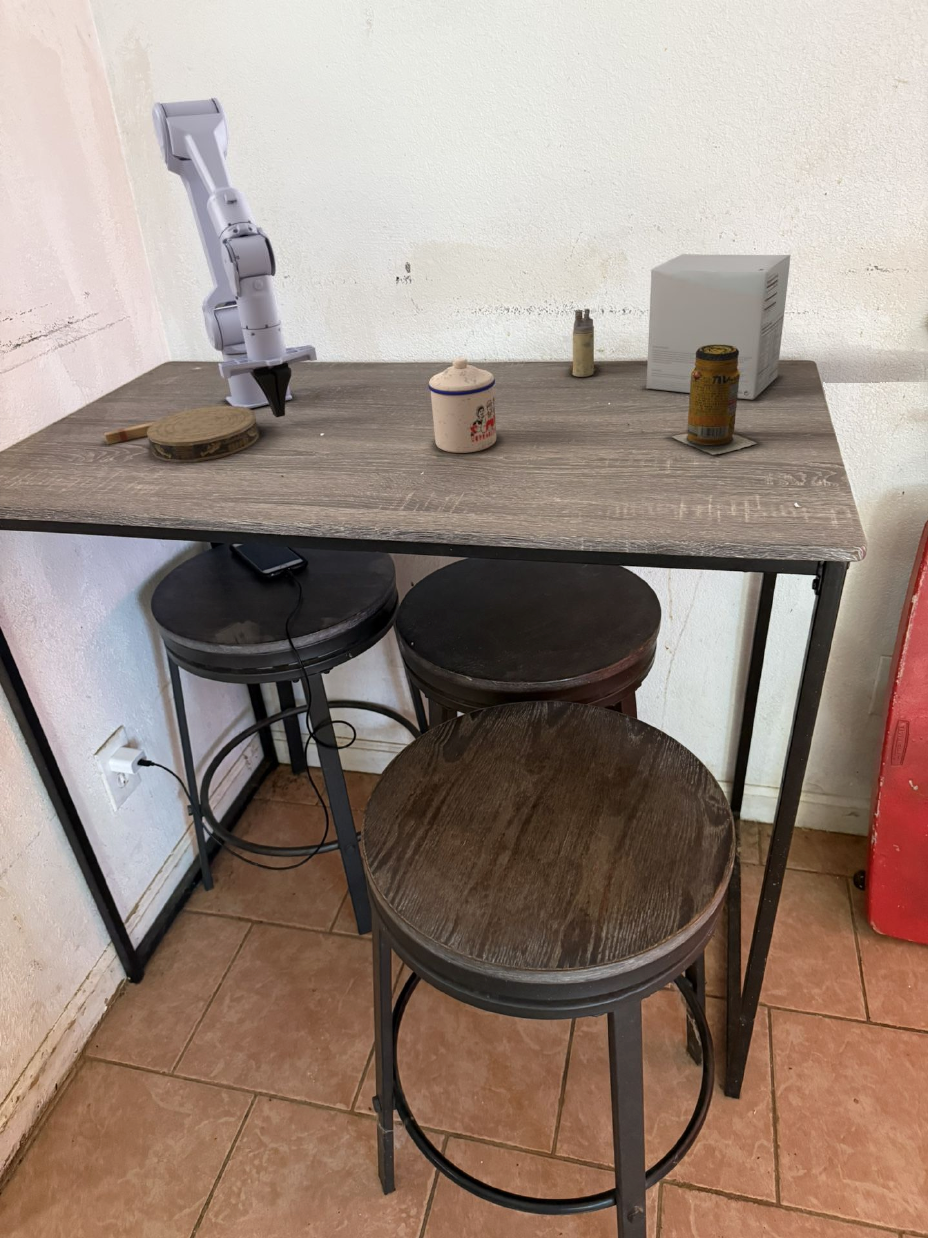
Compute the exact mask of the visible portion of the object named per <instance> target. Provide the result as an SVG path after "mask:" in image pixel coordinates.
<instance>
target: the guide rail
mask: <svg viewBox="0 0 928 1238" xmlns="http://www.w3.org/2000/svg"><path fill="white" fill-rule="evenodd" d="M157 421H158V420H157ZM157 421H152V422H147V423H142V424H138V425H133V426H128V427H125V428H119V429H116V430H111V431H107V432H104V433H103V435H104V437H105V441H106V444H107V445H112V444H117V443H122V442H126V441H130V440H135V439H138V438H143V437H148V436H147V431H148V428H149V427H150V426H151V425H152V424H153V423H155V422H157Z"/></svg>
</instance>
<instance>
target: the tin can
mask: <svg viewBox="0 0 928 1238" xmlns="http://www.w3.org/2000/svg"><path fill="white" fill-rule="evenodd" d="M154 422H155V423H153V424H152V425H151V426H150V427H149V428H148V431H147V436H146V437H147V441H148V443H149V447H150V449H151V450H150V451H151V453H152V455H154V457H155V458H156V459H159V460H162V461H165V462H172V463H173V462H174V463H193V462H194V463H195V462H202V461H210V460H215V459H218V458H222V457H226V456H230V455H233V454H235V453H236V454H237V453H238V452H241V451H243V450H245V449H247V448H248V447H250V446H252V445H253V444H255V443H256V441H257V440H258V439H259V438H260V434H259V429H258V424H257V419H256V415H255V412H254V411H253V410H252V409H251V408H250V409H248V408H244V407H239V406H232V405H210V406H209V405H208V406H203V407H197V408H192V409H186V410H183V411H180V412H176V413H173V414H169V415H167V416H165V417H162V418H161V419H159V420H157V422H156V421H154Z"/></svg>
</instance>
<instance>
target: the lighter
mask: <svg viewBox="0 0 928 1238" xmlns="http://www.w3.org/2000/svg"><path fill="white" fill-rule="evenodd" d="M590 314H591V310H590V309H589V308H588V307H587V308H586V309H584V313H583V310H582V309H577V310H575V311H574V323H573V329H572V376H575V377H578V378H579V377H580V378H582V377H591V376H593V375H594V372H595V371H596V370H597V369H596V368H595V351H594V350H595V325H594V319H593V318H591V316H590Z"/></svg>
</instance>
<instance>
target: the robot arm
mask: <svg viewBox="0 0 928 1238" xmlns="http://www.w3.org/2000/svg"><path fill="white" fill-rule="evenodd" d="M151 117H152V122H153V128H154V132H155V136H156V139H157V143H158V146H159V150H160V154H161V156H162V160H163V162H164V163H165V166H166V170H168V171H169V172H170V173H174V174H175V175H178V176H179V177H180V180H181V182H182V184H183V186H184V189H185V191H186V193H187V197H188V201H189V204H190V207H191V212H192V214H193V219H194V221H195V226H196V228H197V233H198V236H199V239H200V243H201V246H202V250H203V253H204V257H205V260H206V265H207V267H208V271H209V274H210V277H211V281H212V285H213V287H212V288H211V290H210V291H209V293H208V294H207V295H206V296H205V297H204V299H203V301H202V306H201V311H202V314H203V319H204V320H203V321H204V326H205V330H206V334H207V338H208V341H209V343H210V345H211V347H212V348H213V349H215V350H216V351H217V352H221V355H222V360H223V362H218V369H219V374H220V377H221V378H222V379H223V380H227V382H228V386H229V391H230V396H226V397H225V400H226V401H227V403H228V404H230V406H239V407H244V408H248V409H250V410H251V409H253V408H259V407H262V406H267V405H269V407H270V410H271V413H272V415H273V416H274V417H275V418H280V417H285V416H286V401H289V400H292V399H293V396H292V395H291V391H290V386H289V385H290V381H291V378H292V368H291V367H289V365H294V364H298V363H303V362H307V361H309V362H313V361H317V360H318V356H317V350H316V347H315V346H313V345H312V344H307V345H303V346H294V347H286V343H285V337H284V332H283V327H282V321H281V315H280V310H279V305H278V301H277V299H278V298H277V294H276V289H275V288H276V287H275V284H274V277H275V276H276V271H277V265H276V258H275V257H276V256H275V252H274V248H273V246H272V245H273V244H272V243H271V240H270V238H269V236H268V234H267V233H266V232H265V231H264V230H263V228H262V226H258V225H257V222H256V220H255V217H254V215H253V213H252V209H251V208H250V204H249V203H248V201H247V197H246V195H245V194H244V193H243V192H242V191H241V190H239V189H237V188H235V187H234V185H233V181H232V178H231V175H230V174H231V173H230V171H229V167H228V164H227V157H228V146H229V145H228V144H229V138H230V137H229V135H230V132H229V124H228V118H227V115H226V112H225V108H224V106H223V105H222V103H221V102H220V101H219V100H218V99H217V98H216V97H211V98H210V99H196V100H185V101H174V102H173V101H172V102H162V103H161V102H160V101H158V102H154V104H153V107H152V108H151Z"/></svg>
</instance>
